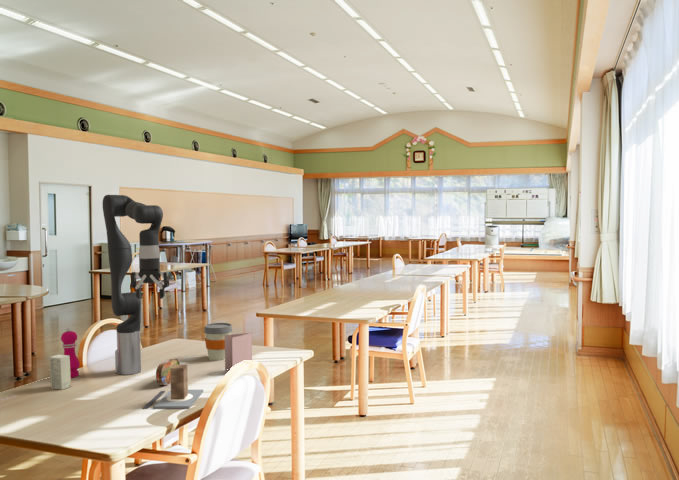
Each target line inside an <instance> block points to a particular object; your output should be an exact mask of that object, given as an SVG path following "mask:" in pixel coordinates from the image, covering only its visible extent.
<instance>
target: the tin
mask: <svg viewBox="0 0 679 480" xmlns="http://www.w3.org/2000/svg"><path fill="white" fill-rule="evenodd" d="M174 365H181V364H180V361H179V359H178V358H170V359H167V360H165V361H164V362H162V363H159V365H157V368H156V371H155V380H156V382H157V384H158V386H168V385H171V372H170V368H171V367H173V366H174Z"/></svg>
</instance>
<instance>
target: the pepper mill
mask: <svg viewBox="0 0 679 480" xmlns="http://www.w3.org/2000/svg"><path fill="white" fill-rule="evenodd" d="M60 340H61V342H62V348H63V355H69V356H70V374H71V379H72V378H76V377H78V376H79V374H80V373H79V370H78V369H79V368H80V360H79V358H78V356H77V354H76V349H75V348H76V347H77V340H78V335H77V333H76V332H75V331H73V330H72V328H71V327H67V328H66V331H64V332H63V333H62V334H61V336H60Z"/></svg>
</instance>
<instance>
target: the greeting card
mask: <svg viewBox="0 0 679 480" xmlns="http://www.w3.org/2000/svg"><path fill="white" fill-rule="evenodd" d="M252 337H253V335H252V332H248V333H245V332H244V333H231V335H225V360H224V371H230V370H229V369H230V368H231V367H232V366H234V365H235V364H237V363H239V362H241V361H243V360H252V361H253V346H252V345H253V342H252V341H253V338H252ZM227 369H228V370H227Z"/></svg>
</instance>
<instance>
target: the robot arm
mask: <svg viewBox="0 0 679 480" xmlns="http://www.w3.org/2000/svg"><path fill="white" fill-rule="evenodd" d="M102 213H103V217H104V218H103V219H104V225H105V229H106V237H107V238H106V239H107V240H106V241H107V254H108V262H109V263H108V264H109V273H110V285H111V286H110V287H111V288H110V291H111V308H112V312H113V314H114V316H116V317H122V316H123V317H124V316H129V317H128V318H127V319H125V320H124V321H123V322H120V323H118V324H117V325H116V350H115V352H114V355H115V359H114V361H115V374H118V375H123V376H126V375H134V374H138V373H140V372H142V354H141V353H142V348H141V345H142V344H141V318H142V317H141V314H142V313H141V311H142V301H141V299H142V287H143V285H144V284H155V285H156V286H157V287H158V288H159V290H158V291H159V294H158V296H159V299H160V300H161V299H163V298H164V297H165V290H166V288H169V286H170V275H169V271H163V272H161V262H160V260H161V257H160V256H161V255H160V254H161V253H160V247H159V245H160V243H159V242H160V241H159V240H160V239H159V236H160V235H159V234H160V231H161V230H160V228H161V225H162V222H163V217H164V212H163V209H162V207H161V206H159V205H154V204H153V205H150V204H149V205H147V204H145V203H142V202H139V201H135V200H133V199H132V198H131V197H129V196H128V195H125V194H106V195H104V196H103V198H102ZM116 217H117V218H119V217H123V218H124V217H128V218H129V219H132V220H134V221H135V222H136V223H137V224H146V225H148V224H151V225H150V227H149V228H147V229H143V230H141V231H139V236H138V237H139V248H138V259H139V260H138V263H139V272H137V271H132V272H131V273H130V288H131V289H135V291H133V292H132V291H131V292H122V286H123V282H124V279H125V277H126V275H127V273H128V272H129V269H130V268H131V266H132V264H133V251H132V245H131V243H130V242H129V240H128V238H127V237H126V236H125V235H124V234H123V232H122V231H121V230H120V228H119V226H118V224H117V222H116ZM138 277H139V278H140V280H138V282H137V278H138ZM160 277H162V278H163V282H162V280H161V279H160Z"/></svg>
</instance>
